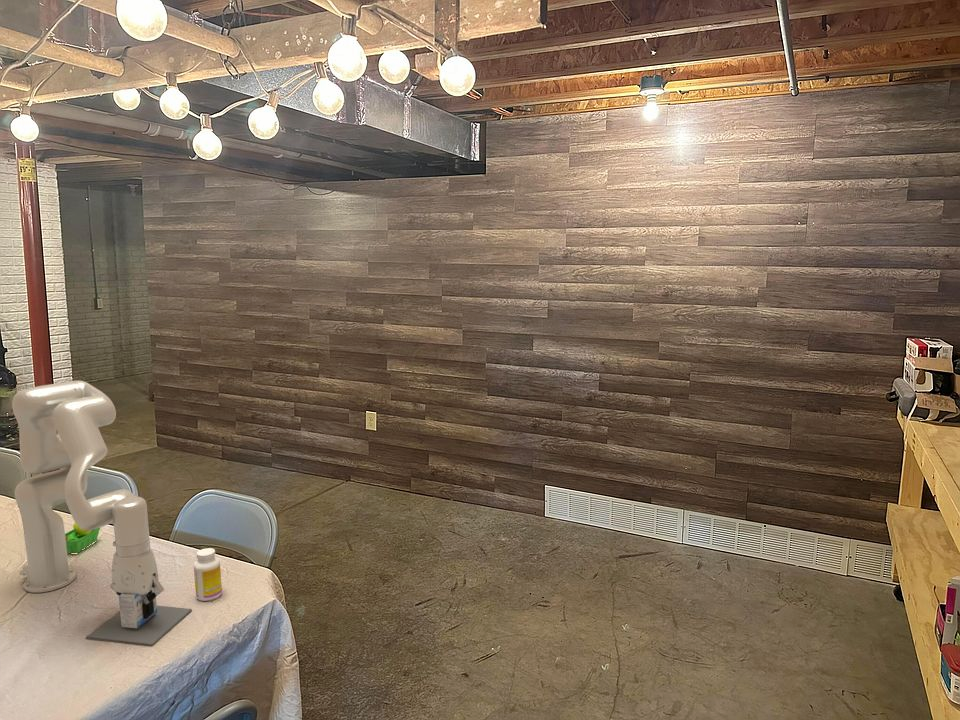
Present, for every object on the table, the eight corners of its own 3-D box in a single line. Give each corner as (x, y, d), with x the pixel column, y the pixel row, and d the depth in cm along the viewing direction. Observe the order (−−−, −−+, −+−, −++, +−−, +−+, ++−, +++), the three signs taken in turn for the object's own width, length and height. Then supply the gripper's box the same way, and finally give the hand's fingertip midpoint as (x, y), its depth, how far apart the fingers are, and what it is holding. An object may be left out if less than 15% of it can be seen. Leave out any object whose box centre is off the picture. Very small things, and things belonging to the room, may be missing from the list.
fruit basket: (81, 539, 219) (78, 507, 217) (106, 541, 217) (103, 508, 216) (55, 555, 207) (51, 521, 206) (81, 557, 206) (77, 522, 204)
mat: (85, 638, 163) (85, 636, 163) (130, 604, 178) (130, 602, 178) (152, 646, 160) (151, 644, 160) (191, 611, 175) (191, 608, 175)
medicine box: (136, 629, 165) (134, 597, 163) (120, 627, 166) (117, 595, 164) (157, 612, 172) (155, 581, 171) (142, 610, 173) (139, 579, 172)
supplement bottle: (227, 591, 185) (224, 548, 183) (210, 603, 179) (207, 558, 177) (207, 587, 187) (204, 544, 185) (190, 599, 181) (187, 555, 179)
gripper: (91, 551, 164) (99, 619, 167) (154, 556, 161) (160, 626, 164) (113, 538, 171) (120, 603, 174) (173, 543, 168) (178, 610, 171)
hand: (139, 614), depth 169 cm, fingers closed on medicine box, 4 cm apart
